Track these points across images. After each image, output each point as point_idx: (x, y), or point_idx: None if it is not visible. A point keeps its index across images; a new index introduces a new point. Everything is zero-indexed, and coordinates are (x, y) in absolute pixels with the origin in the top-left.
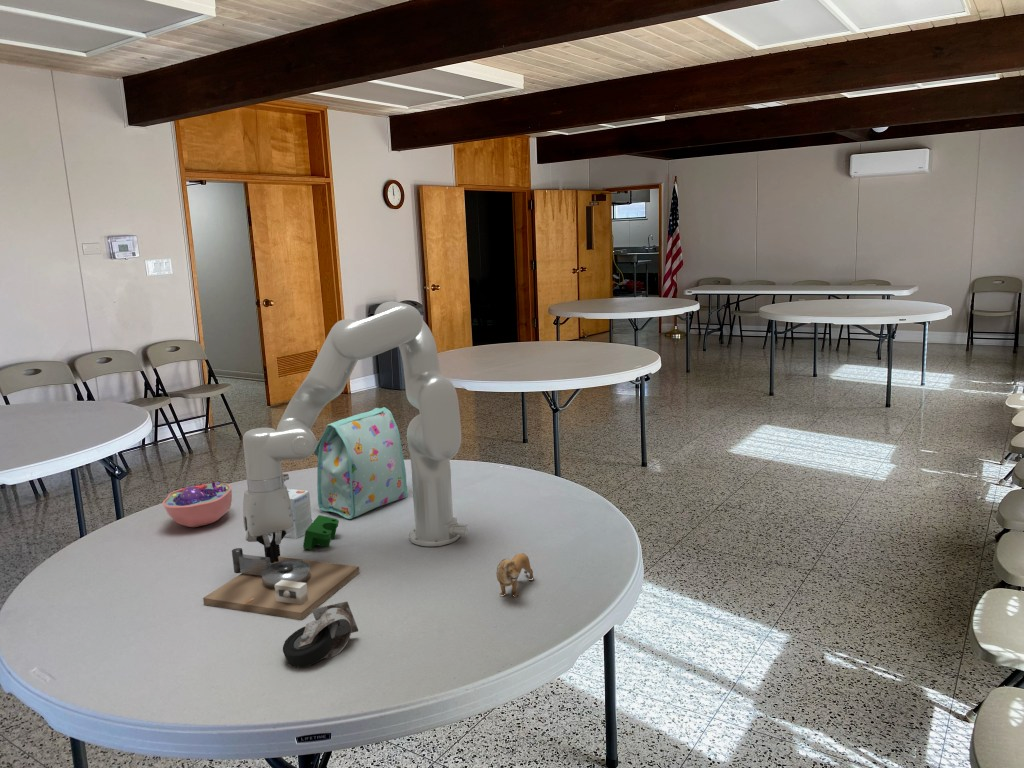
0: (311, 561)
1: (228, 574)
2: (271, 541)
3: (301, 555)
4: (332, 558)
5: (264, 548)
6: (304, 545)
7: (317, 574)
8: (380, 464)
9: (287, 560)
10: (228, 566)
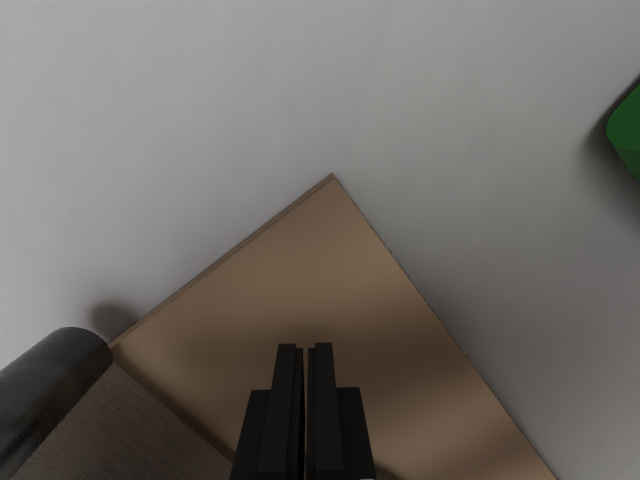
0: (505, 430)
1: (45, 205)
2: (326, 471)
3: (532, 206)
4: (626, 357)
5: (234, 467)
6: (630, 156)
7: None
8: None
9: (404, 342)
10: (41, 54)
